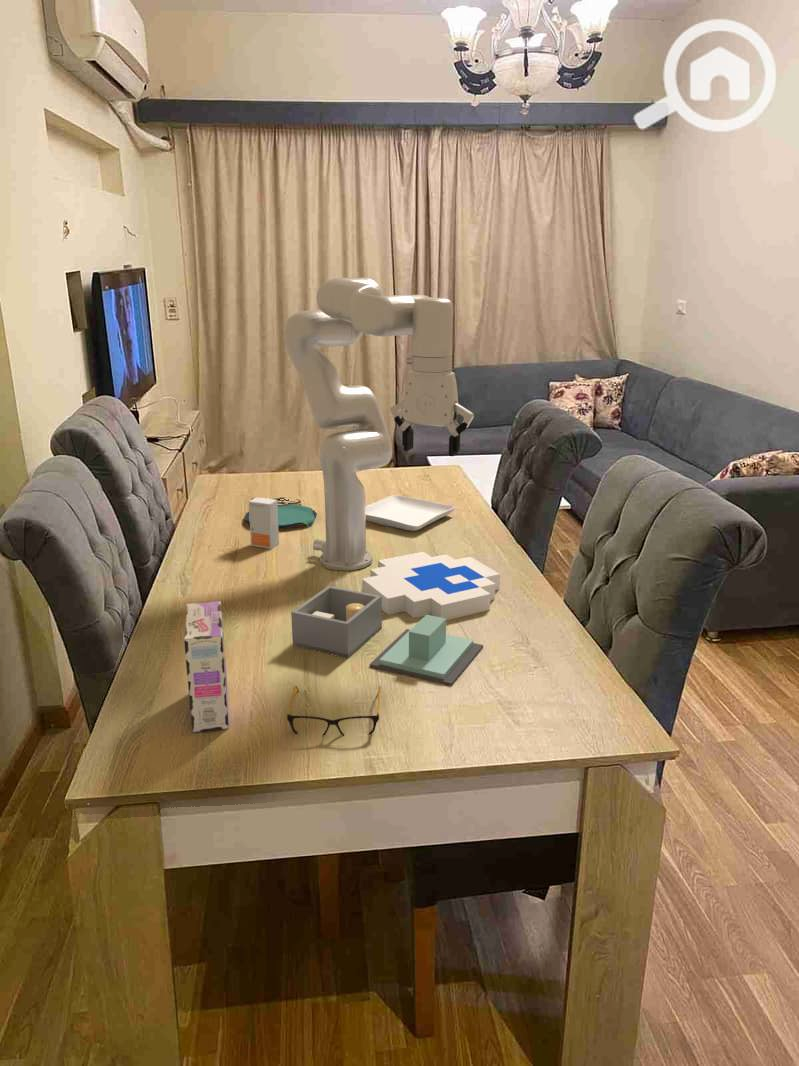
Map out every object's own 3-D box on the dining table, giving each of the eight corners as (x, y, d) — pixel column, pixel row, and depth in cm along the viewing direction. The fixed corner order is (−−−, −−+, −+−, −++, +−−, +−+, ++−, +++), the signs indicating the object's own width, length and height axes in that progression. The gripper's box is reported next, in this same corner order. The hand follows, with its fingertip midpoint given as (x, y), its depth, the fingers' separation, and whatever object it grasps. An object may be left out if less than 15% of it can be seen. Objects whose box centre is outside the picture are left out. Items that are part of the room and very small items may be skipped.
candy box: (229, 729, 129) (222, 635, 124) (191, 734, 128) (182, 639, 123) (228, 686, 142) (221, 599, 136) (193, 689, 141) (185, 601, 135)
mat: (369, 666, 149) (369, 664, 148) (406, 631, 162) (406, 628, 162) (451, 685, 142) (451, 683, 142) (483, 647, 156) (483, 645, 156)
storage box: (292, 645, 156) (291, 612, 154) (329, 617, 168) (328, 585, 166) (348, 658, 151) (347, 624, 149) (381, 628, 163) (381, 596, 161)
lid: (379, 664, 148) (379, 634, 146) (412, 631, 161) (412, 603, 159) (444, 679, 143) (444, 648, 141) (473, 644, 156) (474, 615, 154)
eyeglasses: (287, 740, 127) (286, 717, 126) (297, 692, 141) (296, 671, 140) (379, 740, 127) (379, 717, 126) (380, 692, 141) (380, 671, 140)
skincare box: (250, 546, 208) (247, 501, 204) (259, 541, 211) (256, 496, 207) (271, 549, 205) (269, 504, 201) (279, 544, 209) (277, 499, 205)
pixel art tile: (452, 546, 198) (521, 586, 174) (451, 561, 199) (520, 603, 176) (346, 566, 185) (406, 613, 162) (346, 582, 186) (406, 631, 163)
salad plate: (457, 516, 232) (457, 505, 231) (417, 537, 215) (417, 525, 214) (394, 504, 243) (394, 493, 242) (352, 523, 226) (351, 511, 225)
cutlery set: (244, 534, 217) (244, 526, 216) (244, 503, 245) (244, 495, 244) (320, 530, 220) (320, 522, 220) (311, 500, 248) (311, 493, 248)
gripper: (382, 364, 157) (383, 451, 163) (467, 370, 150) (464, 461, 156) (399, 360, 164) (399, 444, 169) (481, 365, 157) (478, 452, 162)
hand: (430, 452), depth 163 cm, fingers open, 9 cm apart
